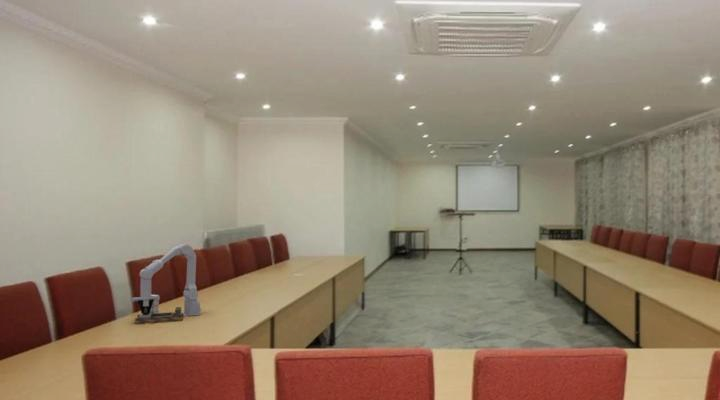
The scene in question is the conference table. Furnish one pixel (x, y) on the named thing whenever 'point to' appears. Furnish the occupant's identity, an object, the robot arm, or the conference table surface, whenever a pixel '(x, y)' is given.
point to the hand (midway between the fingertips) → (145, 313)
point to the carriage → (146, 312)
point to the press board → (161, 317)
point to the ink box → (153, 305)
